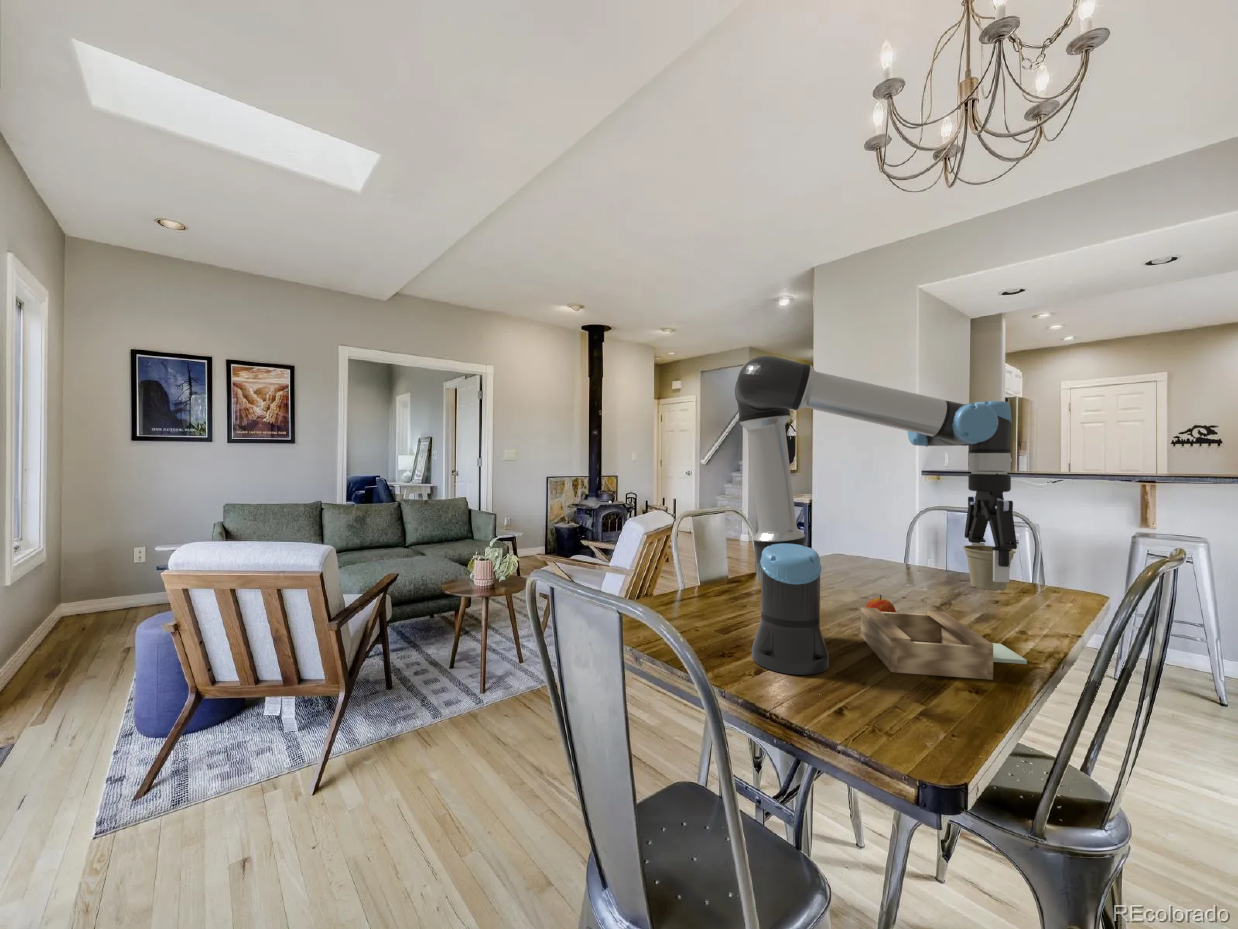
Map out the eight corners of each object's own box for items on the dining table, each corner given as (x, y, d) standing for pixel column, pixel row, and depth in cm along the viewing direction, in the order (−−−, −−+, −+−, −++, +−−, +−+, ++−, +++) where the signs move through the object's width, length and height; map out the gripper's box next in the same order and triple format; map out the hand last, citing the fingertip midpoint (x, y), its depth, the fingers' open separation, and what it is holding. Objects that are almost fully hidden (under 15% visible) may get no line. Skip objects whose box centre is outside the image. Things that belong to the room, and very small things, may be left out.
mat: (973, 660, 109) (973, 656, 109) (951, 644, 119) (951, 640, 119) (1026, 664, 107) (1026, 660, 107) (1000, 647, 117) (1000, 643, 117)
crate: (891, 672, 103) (891, 637, 103) (860, 635, 124) (860, 607, 124) (992, 679, 99) (993, 644, 99) (943, 641, 121) (943, 611, 121)
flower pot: (1025, 594, 107) (1025, 552, 107) (974, 592, 109) (974, 551, 109) (1001, 584, 117) (1001, 545, 117) (955, 582, 118) (955, 544, 118)
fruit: (868, 620, 137) (868, 589, 137) (897, 625, 133) (898, 594, 133) (862, 627, 131) (862, 595, 131) (893, 632, 127) (893, 599, 127)
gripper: (1039, 474, 101) (1039, 589, 101) (982, 472, 123) (982, 567, 123) (997, 474, 103) (996, 587, 103) (947, 472, 124) (947, 565, 124)
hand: (988, 576), depth 113 cm, fingers closed on flower pot, 9 cm apart
